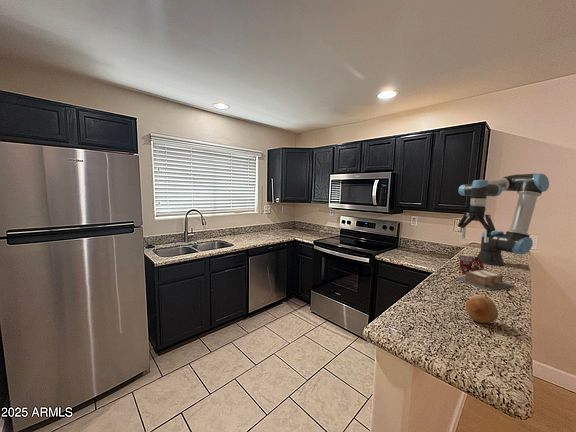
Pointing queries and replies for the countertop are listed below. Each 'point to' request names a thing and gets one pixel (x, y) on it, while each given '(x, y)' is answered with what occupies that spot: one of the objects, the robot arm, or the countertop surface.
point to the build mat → (503, 285)
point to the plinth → (484, 278)
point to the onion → (481, 309)
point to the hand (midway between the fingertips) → (474, 240)
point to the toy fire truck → (470, 264)
